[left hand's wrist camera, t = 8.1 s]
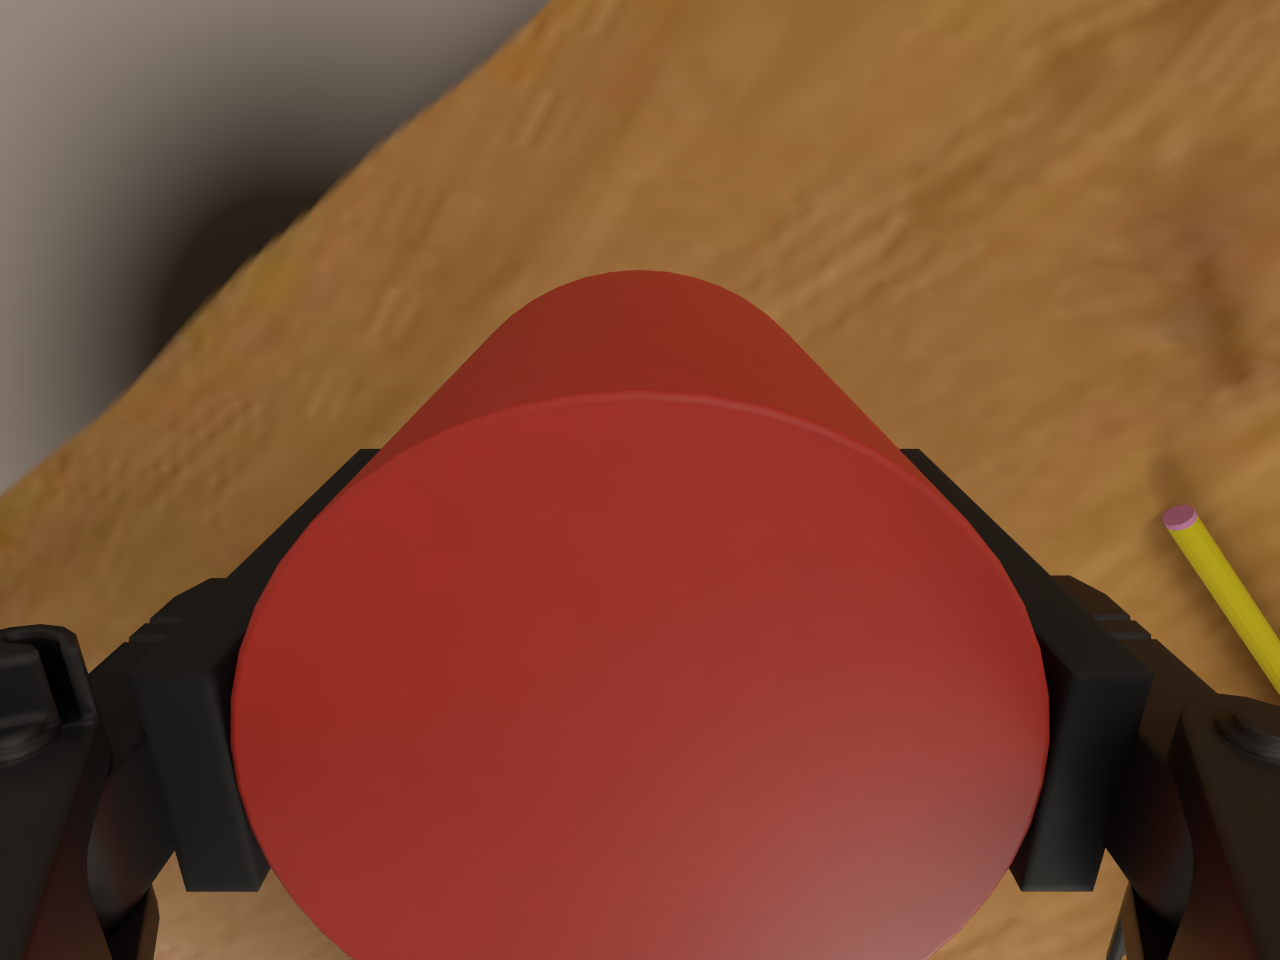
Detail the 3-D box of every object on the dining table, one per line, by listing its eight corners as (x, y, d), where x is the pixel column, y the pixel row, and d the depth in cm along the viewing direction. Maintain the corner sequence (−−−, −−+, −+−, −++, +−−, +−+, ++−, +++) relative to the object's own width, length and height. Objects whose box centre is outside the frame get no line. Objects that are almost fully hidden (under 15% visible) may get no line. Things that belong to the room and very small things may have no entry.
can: (454, 242, 15) (194, 331, 6) (873, 299, 15) (1184, 455, 6) (439, 613, 17) (248, 1026, 9) (791, 652, 18) (930, 1084, 9)
